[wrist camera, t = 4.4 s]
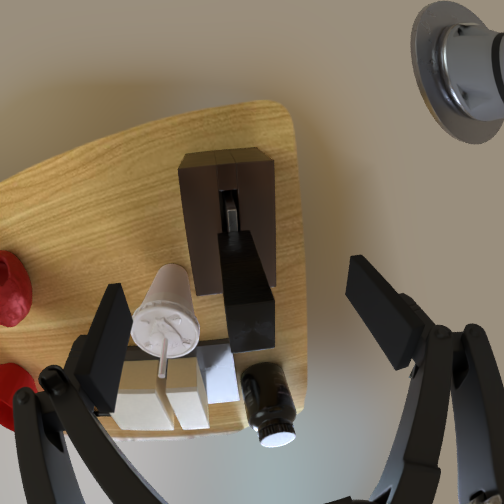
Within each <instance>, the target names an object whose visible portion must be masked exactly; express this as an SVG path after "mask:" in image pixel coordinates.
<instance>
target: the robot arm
mask: <svg viewBox="0 0 504 504" xmlns="http://www.w3.org/2000/svg"><path fill="white" fill-rule="evenodd" d="M476 25H479V24H476V23H458V24H452V25H449V26H447V27H446V28H445V29H444V30H443V32H442V33H441V36H440V38H439V42H438V50H437V57H438V66H439V71H440V75H441V79H442V82H443V85H444V87H445V90H446V92H447V94H448V96H449V98H450V99H451V101H452V102H453V104H454V105H455V107H456V108H457V109H458V110H459V111H460V112H461V113H462V114H463V115H465V116H466V117H468V118H470V119H473V120H478V121H483V122H486V121H492V120H496V119H501V118H504V33H498V32H495V31H492V30H489V29H486V28H483V27H479V26H476ZM345 295H346V296H347V298H348V299H349V301H350V302H351V304H352V305H353V307H354V308H355V310H356V311H357V312H358V314H359V315H360V317H361V318H362V320H363V321H364V323H365V324H366V326H367V327H368V329H369V330H370V332H371V333H372V335H373V336H374V338H375V339H376V341H377V342H378V344H379V345H380V347H381V349H382V350H383V352H384V353H385V355H386V356H387V358H388V359H389V361H390V363H391V364H392V366H393V367H394V369H395V370H399V369H402V368H405V367H408V366H409V363H410V361H411V359H413V360H414V361H415V366H414V368H413V370H412V372H411V374H410V376H409V378H411V381H410V386H409V390H408V394H407V398H406V402H405V406H404V410H403V413H402V417H401V421H400V424H399V428H398V431H397V434H396V437H395V440H394V443H393V446H392V449H391V452H390V455H389V457H388V460H387V463H386V466H385V468H384V471H383V474H382V476H381V479H380V481H379V483H378V485H377V487H376V488H375V490H374V491H373V493H372V495H371V497H370V498H369V501H368V500H352V499H351V497H350V496H348V497H345V498H342V499H339V500H336V501H332V502H329V503H325V504H432V503H433V500H434V497H435V493H436V490H437V487H438V483H439V479H440V474H441V469H440V468H438V465H437V464H438V459H439V455H440V451H441V446H442V441H443V436H444V430H445V425H446V419H447V411H448V405H449V396H450V390H451V396H452V404H453V411H454V420H455V431H456V443H457V463H458V499H459V504H504V387H503V384H502V380H501V376H500V373H499V370H498V367H497V364H496V361H495V358H494V355H493V352H492V349H491V346H490V343H489V341H488V338H487V335H486V333H485V331H484V329H483V328H482V327H481V326H479V325H477V324H468V325H466V327H465V329H464V331H463V332H452V331H451V330H450V329H449V328H447V327H445V326H443V325H435V324H434V323H433V321H432V320H431V319H430V318H429V317H428V316H427V315H426V313H425V312H424V311H423V310H422V309H421V308H420V307H419V306H418V305H417V304H416V302H415V301H414V300H413V299H412V298H411V297H409V296H408V295H406V294H404V293H401V294H398V293H397V292H396V291H395V290H394V289H393V288H392V286H391V285H390V284H389V283H388V282H387V281H386V280H385V279H384V278H383V277H382V275H381V274H380V273H379V272H378V271H377V270H376V269H375V268H374V267H373V266H372V265H371V264H370V263H369V262H368V261H367V259H366V258H365V257H364V256H362V255H355V256H351V257H350V265H349V272H348V280H347V286H346V293H345ZM132 325H133V319H132V316H131V313H130V310H129V307H128V304H127V301H126V298H125V295H124V292H123V289H122V286H121V283H115V284H108V286H107V289H106V291H105V293H104V295H103V298H102V300H101V302H100V305H99V307H98V310H97V312H96V314H95V317H94V319H93V322H92V324H91V327H90V329H89V332H88V335H80V336H79V337H78V338H77V339H76V340H75V341H74V343H73V345H72V348H71V351H70V353H69V357H68V358H67V361H66V363H65V366H64V369H62V368H61V367H60V366H58V365H51V366H48V367H46V368H45V369H43V370H42V372H41V373H40V375H39V378H38V380H39V384H40V385H41V387H42V388H43V389H44V391H42V392H38V393H35V392H34V391H33V390H32V389H31V388H30V387H22V388H20V389H18V390H17V391H16V392H15V394H14V396H13V419H14V431H15V439H16V448H17V455H18V462H19V468H20V473H21V478H22V483H23V488H24V492H25V496H26V500H27V504H85V501H84V499H83V496H82V494H81V491H80V488H79V485H78V482H77V479H76V476H75V473H74V471H73V467H72V464H71V461H70V458H69V454H68V450H67V446H66V442H65V438H64V434H63V431H65V430H66V432H67V434H68V436H69V438H70V439H71V441H72V443H73V445H74V446H75V448H76V450H77V451H78V453H79V455H80V456H81V458H82V460H83V461H84V463H85V464H86V466H87V467H88V469H89V471H90V472H91V473H92V475H93V477H94V478H95V479H96V481H97V482H98V483H99V485H100V486H101V488H102V489H103V491H104V492H105V493H106V495H107V496H108V497H109V499H110V500H111V501H112V503H113V504H168V503H167V502H166V501H165V500H164V499H163V498H162V497H161V496H160V495H159V494H158V493H157V492H156V490H155V489H154V488H153V487H152V486H151V485H150V484H149V483H148V482H147V481H146V480H145V479H144V477H143V476H142V475H141V474H140V473H139V472H138V471H137V469H136V468H135V467H134V466H133V465H132V464H131V462H130V461H129V460H128V459H127V458H126V456H125V455H124V454H123V453H122V451H121V450H120V449H119V447H118V446H117V445H116V443H115V442H114V441H113V439H112V438H111V437H110V435H109V434H108V433H107V431H106V430H105V428H104V427H103V426H102V424H101V423H100V421H99V420H98V418H97V417H96V415H95V414H94V413H93V411H94V406H95V407H96V408H97V409H98V411H99V412H104V413H114V412H115V406H116V400H117V395H118V389H119V384H120V379H121V374H122V369H123V364H124V359H125V355H126V350H127V346H128V342H129V337H130V333H131V329H132Z"/></svg>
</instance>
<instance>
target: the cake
mask: <svg viewBox="0 0 504 504" xmlns="http://www.w3.org/2000/svg"><path fill="white" fill-rule="evenodd" d="M159 365H160V363H159V360H143V361H124V364H123V369H122V374H121V379H120V384H119V389H118V395H117V400H116V406H115V412H114V413H110V415H111V416H112V418H113V419H114V420H115V422H116V423H117V424H118V425H119V427H120V428H121V429H122V430H174V410H173V408H172V406H171V404H170V401H169V399H168V397H167V395H166V381H167V380H166V378H159V376H158V374H159Z"/></svg>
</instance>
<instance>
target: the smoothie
mask: <svg viewBox="0 0 504 504" xmlns="http://www.w3.org/2000/svg"><path fill="white" fill-rule="evenodd" d="M132 319H133V325H132V329H131V336H132V338H133V340H134V342H135V343H136V344H137V345H138V346H139V347H140V348H141V349H142V350H144V351H145V352H147V353H149V354H151V355H153V356H157V357H160V365H159V374H158V376H159V378H165V373H166V361H167V358H176V357H181V356H184V355H186V354H188V353H189V352H191V351H192V350H193V349H194V348H195V347H196V345H197V343H198V341H199V333H200V325H199V322H198V320H197V318H196V317H195V315H194V310H193V304H192V298H191V291H190V285H189V278H188V274H187V272H186V270H185V269H184V268H183V267H181V266H180V265H177V264H166V265H164V266H162V267H161V268H160V269H159V270H158V272H157V274H156V276H155V278H154V280H153V282H152V284H151V286H150V288H149V290H148V292H147V294H146V296H145V298H144V300H143V302H142V304H141V306H140V307H139V308H137V309H136V310H135V312H134V314H133V316H132Z"/></svg>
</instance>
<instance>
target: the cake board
mask: <svg viewBox="0 0 504 504" xmlns="http://www.w3.org/2000/svg"><path fill="white" fill-rule="evenodd" d="M191 357H197V361H198V365H199V369H200V372H201V376H202V380H203V383H204V387H205V390H206V394H207V397H208V404H212V403H222V402H231V401H240V399H239V393H238V386H237V379H236V372H235V365H234V358H233V354H231V351H230V343H229V338H226V339H217V340H208V341H198V343H197V345H196V347H195V348H194V349H193V350H192V351H191V352H189V353H188V354H186V355H184V356H181V357H176V358H167V361H166V373H165V378H166V380H167V368H168V359H178V358H191ZM143 360H159V363H160V357H157V356H153V355H151V354H149V353H147V352H145V351H144V350H142V349H141V348H140V347H139V346H127V350H126V355H125V359H124V361H143Z"/></svg>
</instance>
